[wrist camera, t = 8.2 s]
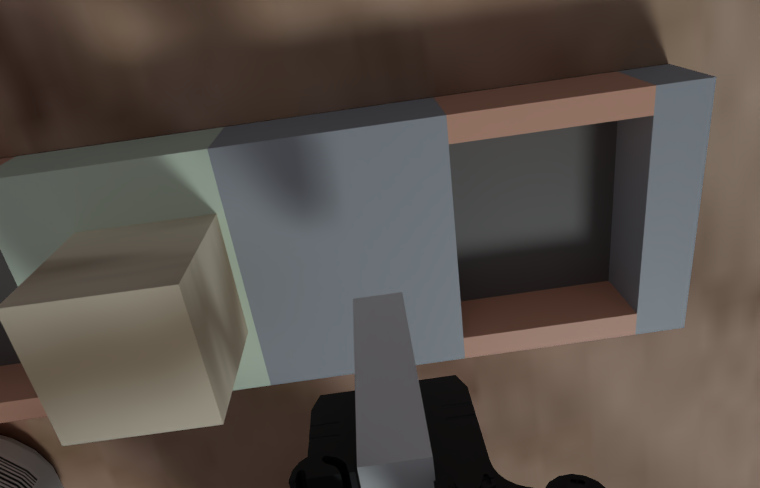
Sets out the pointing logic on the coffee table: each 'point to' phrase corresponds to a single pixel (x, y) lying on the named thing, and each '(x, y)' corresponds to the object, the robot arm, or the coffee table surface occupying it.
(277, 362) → the trap runway
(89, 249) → the birch block
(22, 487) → the supplement can
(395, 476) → the robot arm
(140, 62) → the coffee table surface
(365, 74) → the coffee table surface
